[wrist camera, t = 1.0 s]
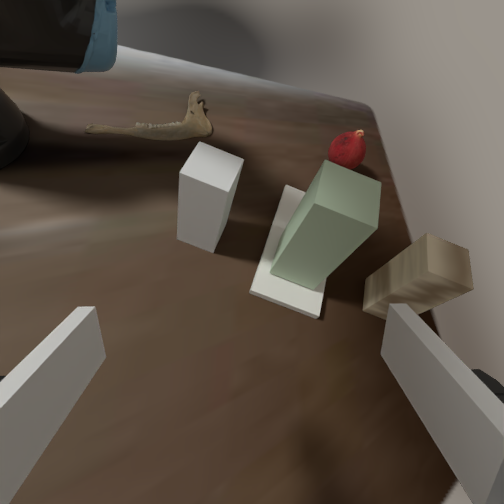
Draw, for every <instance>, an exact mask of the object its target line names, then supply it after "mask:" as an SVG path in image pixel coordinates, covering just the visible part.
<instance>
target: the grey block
mask: <svg viewBox="0 0 504 504" xmlns="http://www.w3.org/2000/svg"><path fill="white" fill-rule="evenodd" d="M243 162H244V159H242V158H240V157H237V156H235V155H232V154H230V153H227V152H225V151H222V150H220V149H217V148H215V147H212V146H210V145H207V144H205V143H202V142H200V141H199V143H198V144H197V146H196V147H195V149H194V150H193V152H192V154H191V155H190V157H189V158H188V160H187V161H186V163H185V165H184V166H183V168H182V169H181V171H180V172H179V196H178V222H177V239H178V240H181V241H183V242H186V243H188V244H191V245H193V246H196V247H199V248H201V249H204V250H206V251H209V252H211V253H214V250H215V248H216V246H217V244H218V241H219V239H220V237H221V235H222V232H223V230H224V228H225V226H226V223H227V219H228V216H229V212H230V209H231V205H232V201H233V198H234V194H235V191H236V187H237V183H238V180H239V176H240V173H241V169H242V165H243Z"/></svg>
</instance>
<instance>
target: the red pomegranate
mask: <svg viewBox="0 0 504 504" xmlns="http://www.w3.org/2000/svg"><path fill="white" fill-rule="evenodd" d="M363 135H364V131H362V130H358V131H355V132H346V133H343V134H341V135H339V136H338V137H336V138H335V139H334V140H333V142H332V143H331V146H330V148H329V150H328V157H329V161H330V162H332V163H335V164H337V165H340V166H342V167H344V168H347V169H349V170H351V169H353V168H356V167H357V166H358V165H359V164H360V163H361V162H362V161H363V159H364V157H365V152H366V145H365V141H364V139H363V137H362V136H363Z"/></svg>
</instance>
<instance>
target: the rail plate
mask: <svg viewBox="0 0 504 504" xmlns="http://www.w3.org/2000/svg"><path fill="white" fill-rule="evenodd" d="M305 193H306V192H303V191H301V190H298V189H296V188H293V187H291V186H288V185H286V186H285V188H284V190H283V193H282V196H281V199H280V202H279V205H278V208H277V211H276V214H275V217H274V220H273V223H272V226H271V229H270V232H269V235H268V238H267V241H266V244H265V247H264V250H263V253H262V256H261V259H260V262H259V265H258V268H257V271H256V274H255V277H254V280H253V283H252V286H251V289H250V292H249V293H250V294H253V295H255V296H258V297H260V298H263V299H266V300H268V301H271V302H273V303H276V304H279V305H281V306H284V307H286V308H289V309H292V310H294V311H297V312H299V313H302V314H305V315H307V316H310V317H312V318H315V319H317V318H318V317H319V316H320V310H321V305H322V299H323V294H324V288H325V283H326V278H325V279H324V280H323V281H322V282H321V283H320V284H319V285H318V286H317V287H316V288H315V289H314V290H312V289H310V288H307V287H305V286H302V285H299V284H297V283H294V282H292V281H289V280H286V279H284V278H281V277H279V276H276V275H274V274H271V273H269V272H270V269H271V266H272V262H273V259H274V256H275V253H276V249H277V246H278V243H279V240H280V236H281V235H282V233H283V231H284V229H285V228H286V226H287V224H288V223H289V221H290V219H291V217H292V216H293V214H294V212H295V210H296V209H297V207H298V205H299V204H300V202H301V200H302V198H303V197H304V195H305Z"/></svg>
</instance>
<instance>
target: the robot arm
mask: <svg viewBox="0 0 504 504" xmlns="http://www.w3.org/2000/svg"><path fill="white" fill-rule="evenodd" d="M115 7H116V0H0V67H9V68H21V69H34V70H47V71H60V72H73V73H77V74H79V73H82V72H104V71H108V70H110V69H111V68H112V67H113V65H114V63H115V61H116V55H117V12H116V8H115ZM28 140H29V129H28V126H27V123H26V121H25V119H24V117H23V115H22V113H21V111H20V110H19V108H18V107H17V105H16V104H15V103H14V102H13V101H12V100H11V99H10V98H9V97H8V96H7V95H6V94H5V92H4V91H3V90H2V89H1V88H0V169H1V168H3V167H5V166H6V165H8V164H10V163H11V162H12V161H14V160H15V159H16V158H17V157H18V156H19V155H20V154H21V153H22V152H23V151H24V149H25V147H26V146H27V143H28ZM381 356H382V357H383V359H384V361H385V362H386V364H387V365H388V367H389V369H390V370H391V372H392V373H393V375H394V377H395V378H396V380H397V382H398V383H399V385H400V386H401V388H402V390H403V391H404V393H405V395H406V396H407V398H408V399H409V401H410V403H411V404H412V406H413V408H414V409H415V411H416V412H417V414H418V416H419V417H420V419H421V420H422V422H423V424H424V425H425V427H426V429H427V430H428V432H429V433H430V435H431V437H432V438H433V440H434V442H435V443H436V445H437V446H438V448H439V450H440V451H441V453H442V455H443V456H444V458H445V459H446V461H447V463H448V464H449V466H450V467H451V469H452V471H453V472H454V474H455V476H456V477H457V479H458V480H459V482H460V484H461V485H462V487H463V488H464V490H465V492H466V493H467V495H468V497H469V498H470V500H471V501H472V503H473V504H504V387H503V386H502V385H501V384H500V383H499V382H498V381H497V380H496V379H494V378H492V377H491V376H489V375H488V374H486V373H484V372H483V371H481V370H479V369H474V370H470V369H469V368H468V367H467V366H466V365H465V364H464V362H463V361H461V359H460V358H459V357H458V356H457V355H456V354H455V353H454V352H453V351H452V350H451V349H450V348H449V347H448V346H447V345H446V344H445V343H444V342H443V341H442V340H441V339H440V338H439V337H438V336H437V335H436V334H435V333H434V331H433V330H432V329H431V328H430V327H429V326H428V325H427V324H426V323H425V322H424V321H423V320H422V319H421V318H420V317H419V316H418V315H417V314H416V313H415V312H414V311H413V310H412V309H411V308H410V307H409V306H408V305H407V304H406V303H397V304H389V308H388V314H387V320H386V325H385V331H384V337H383V343H382V349H381ZM105 358H106V355H105V350H104V345H103V341H102V336H101V331H100V327H99V322H98V317H97V312H96V308H95V307H77V308H76V309H75V310H74V311H73V312H72V313H71V314H70V315H69V316H68V317H67V318H66V319H65V320H64V321H63V322H62V323H61V324H60V325H59V326H58V327H57V328H56V329H54V330H53V331H52V332H51V333H50V334H49V335H48V336H47V337H46V338H45V339H44V340H43V341H42V342H41V343H40V344H39V345H38V346H37V347H36V348H35V349H34V350H33V351H32V352H31V353H30V354H29V355H28V356H27V357H26V358H24V359H23V360H22V361H21V362H20V363H19V364H18V365H17V366H16V367H15V368H14V369H13V370H12V371H11V372H10V373H9V374H8V375H7V376H0V504H9V503H10V501H11V500H12V498H13V497H14V495H15V494H16V492H17V491H18V489H19V488H20V486H21V485H22V483H23V482H24V480H25V479H26V477H27V476H28V474H29V473H30V471H31V470H32V468H33V467H34V465H35V464H36V462H37V461H38V459H39V458H40V456H41V455H42V453H43V452H44V450H45V449H46V447H47V446H48V444H49V443H50V441H51V440H52V438H53V436H54V435H55V433H56V432H57V430H58V429H59V427H60V426H61V424H62V423H63V421H64V420H65V418H66V417H67V415H68V414H69V412H70V411H71V409H72V408H73V406H74V405H75V403H76V402H77V400H78V399H79V397H80V396H81V394H82V393H83V391H84V390H85V388H86V387H87V385H88V384H89V382H90V381H91V379H92V378H93V376H94V375H95V373H96V372H97V370H98V369H99V367H100V366H101V364H102V363H103V361H104V360H105Z"/></svg>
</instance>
